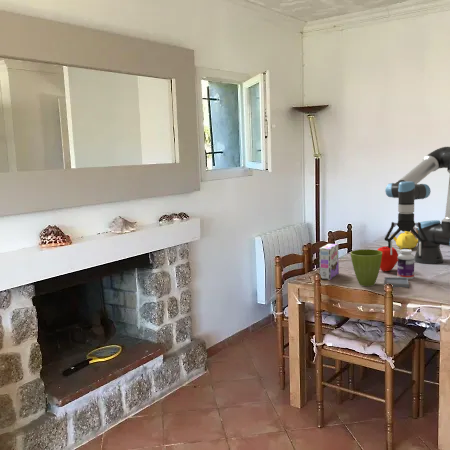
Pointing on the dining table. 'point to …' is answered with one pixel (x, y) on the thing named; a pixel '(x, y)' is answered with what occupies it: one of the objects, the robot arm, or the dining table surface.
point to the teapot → (406, 240)
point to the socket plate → (396, 281)
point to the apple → (388, 258)
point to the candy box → (328, 261)
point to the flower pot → (366, 265)
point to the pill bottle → (405, 264)
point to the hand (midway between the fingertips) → (405, 254)
